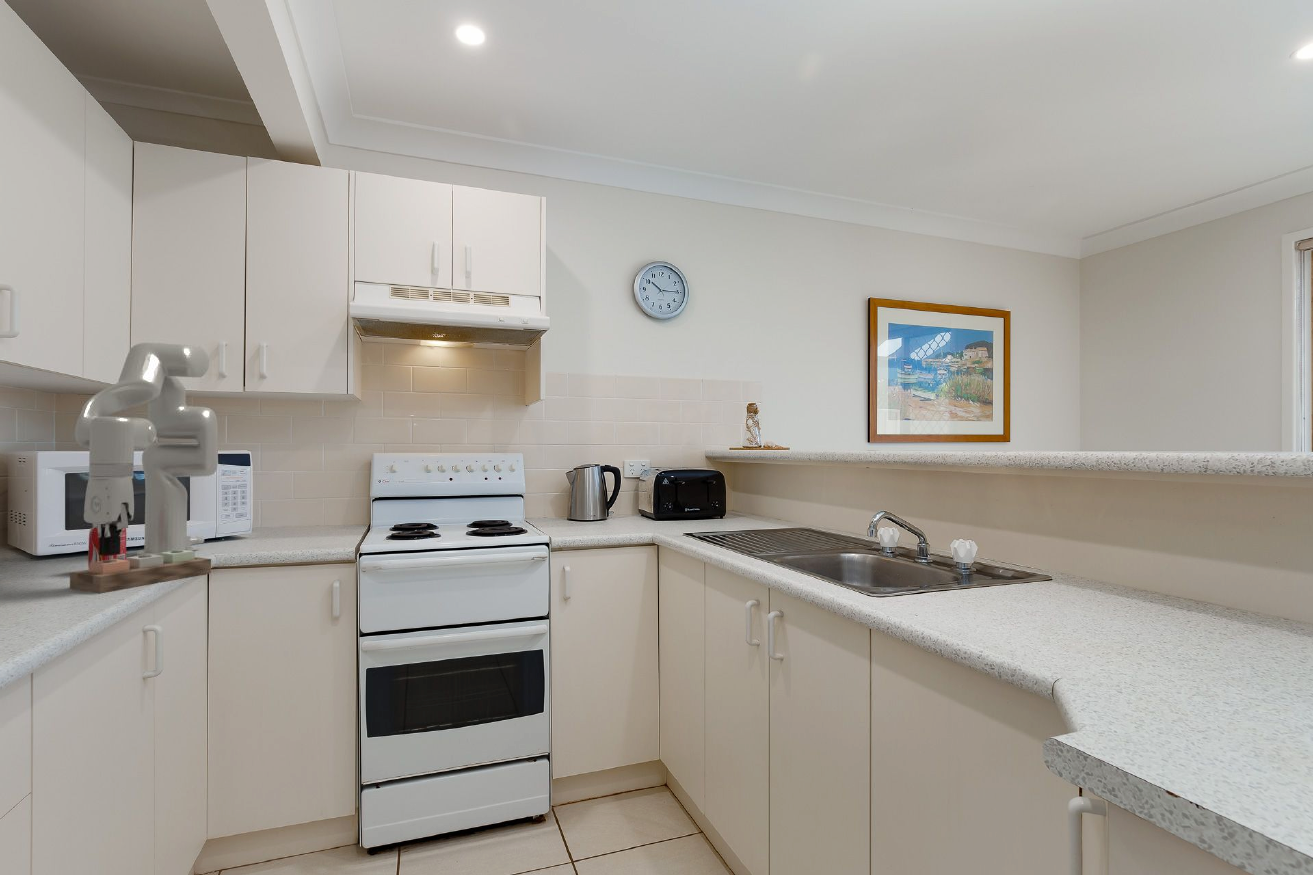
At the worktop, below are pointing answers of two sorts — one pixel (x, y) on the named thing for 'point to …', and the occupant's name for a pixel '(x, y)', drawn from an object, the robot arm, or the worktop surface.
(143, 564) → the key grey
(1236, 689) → the worktop surface
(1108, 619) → the worktop surface
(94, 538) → the soda can
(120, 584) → the tray
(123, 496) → the robot arm
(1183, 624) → the worktop surface
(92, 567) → the peach square block
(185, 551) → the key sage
